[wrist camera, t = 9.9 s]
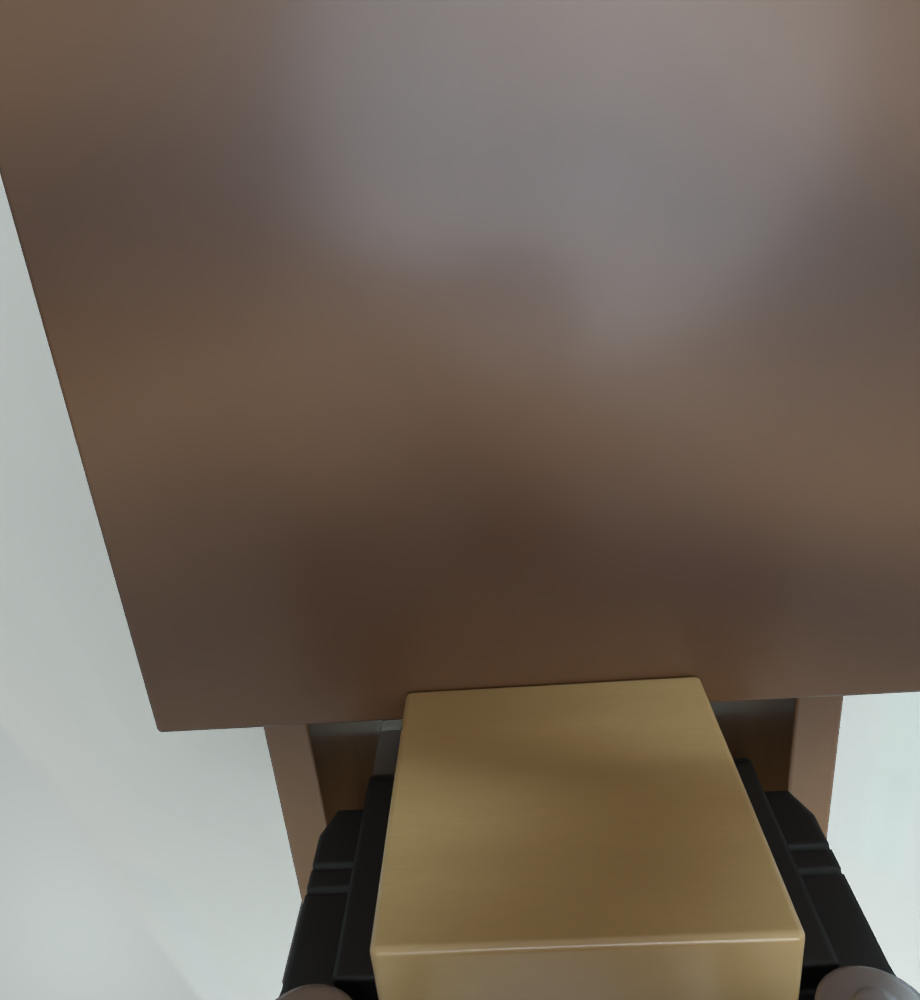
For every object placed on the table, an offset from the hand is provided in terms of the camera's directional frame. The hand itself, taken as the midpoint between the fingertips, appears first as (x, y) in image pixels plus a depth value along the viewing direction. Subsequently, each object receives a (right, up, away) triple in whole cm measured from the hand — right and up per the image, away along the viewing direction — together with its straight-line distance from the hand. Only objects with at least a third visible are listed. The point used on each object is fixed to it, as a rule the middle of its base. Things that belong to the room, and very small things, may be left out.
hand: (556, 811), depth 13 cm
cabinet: (0, +12, +6) cm, 13 cm away
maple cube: (0, 0, 0) cm, 0 cm away
